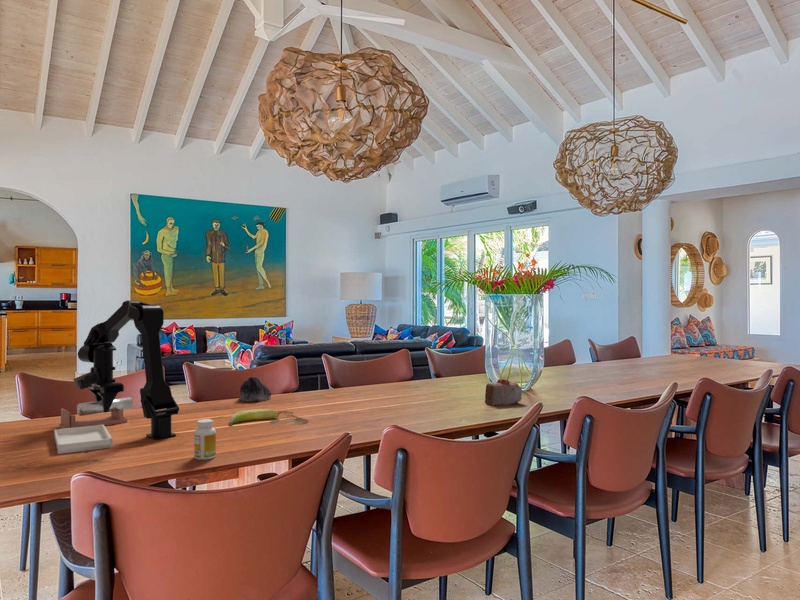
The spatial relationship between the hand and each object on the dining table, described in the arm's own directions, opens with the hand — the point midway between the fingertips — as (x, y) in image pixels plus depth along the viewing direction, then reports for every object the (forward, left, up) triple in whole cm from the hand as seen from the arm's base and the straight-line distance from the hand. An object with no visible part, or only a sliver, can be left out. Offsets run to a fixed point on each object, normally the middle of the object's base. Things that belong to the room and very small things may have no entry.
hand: (103, 411), depth 194 cm
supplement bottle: (-60, -4, -4) cm, 60 cm away
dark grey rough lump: (+4, -60, -4) cm, 60 cm away
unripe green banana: (-31, -37, -5) cm, 48 cm away
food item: (-74, -124, -4) cm, 144 cm away
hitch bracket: (0, +3, -4) cm, 5 cm away
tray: (-21, +13, -4) cm, 25 cm away
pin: (0, -1, 0) cm, 1 cm away
